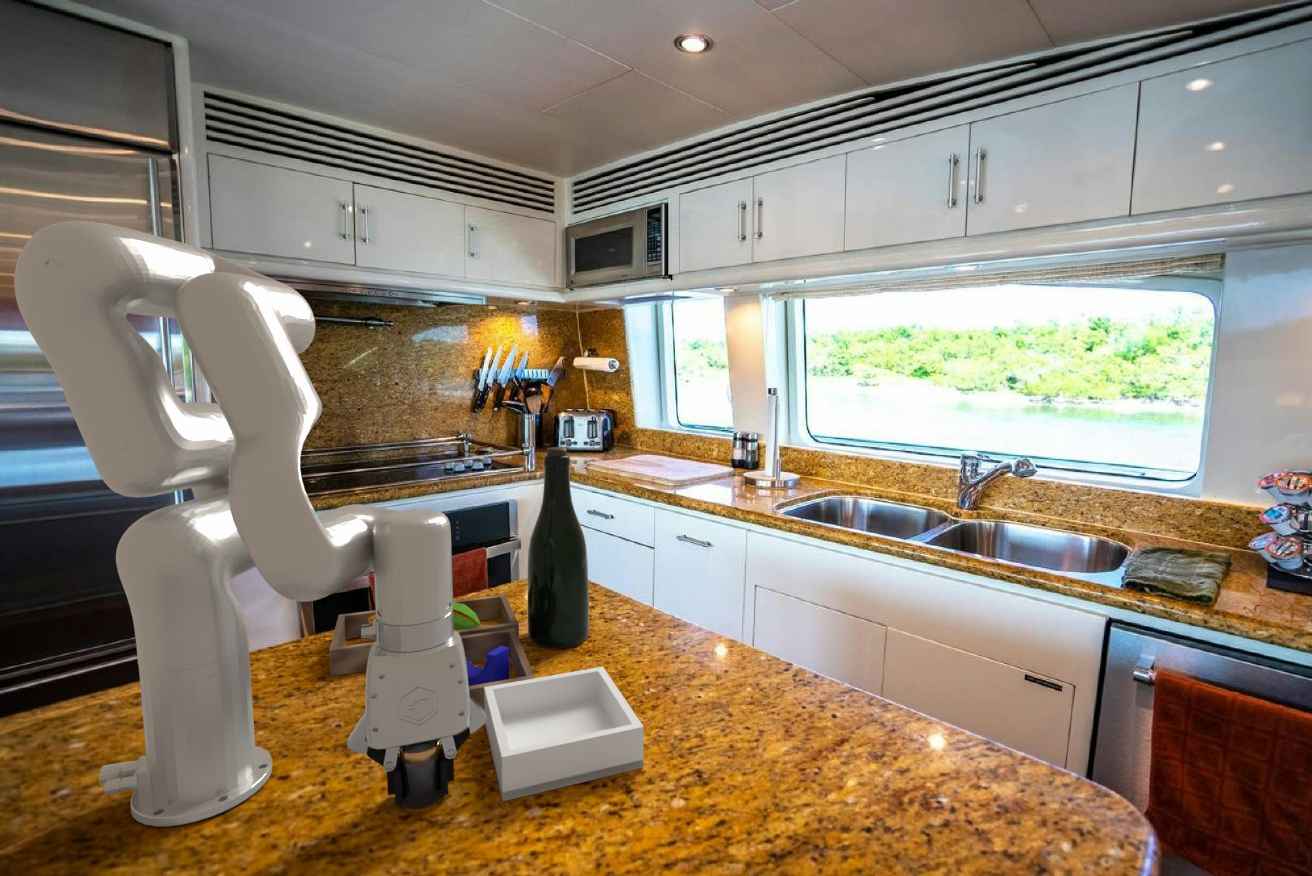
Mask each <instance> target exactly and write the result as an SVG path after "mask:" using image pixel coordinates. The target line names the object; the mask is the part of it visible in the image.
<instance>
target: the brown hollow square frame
mask: <svg viewBox="0 0 1312 876" xmlns="http://www.w3.org/2000/svg"><path fill="white" fill-rule="evenodd" d="M460 637H461V639H462V643H463V647H464V652H465V656H466V657H467V659H468V660H469V661H470V662H471V663H472V662H477V661H484V660H486V653H488V652H490V651H492V650H494V649H496V648H498V647H500V646H504V647H508V648H509V660H510V662H511V664H512V667H513V670H514V672H515V675H516V677H514V678H510V679H508V680H502V681H496V682H490V683H484V684H478V685H472V686H469V693H470V695H471V696H472V697H473V698H474V699H475V701H476V702H477V703H478V704H479V705H480V707H481V708H482V709H483V710H484V711H485V704H484V687H488V686H494V685H500V684H505V683H511V682H517V681H523V680H529V679H534V678H536V676H535V674H534V672H533V669H532V666H531V665H530V663H529V660H528V658H527V655H526V653H525V651H524V649H523V646H522V643H521V642H520V638H519V639H518V636H517V634H516V632H515V629H507V630H500V631H493V632H486V633H479V634H472V635H465V636H460Z"/></svg>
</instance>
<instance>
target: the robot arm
mask: <svg viewBox="0 0 1312 876" xmlns="http://www.w3.org/2000/svg"><path fill="white" fill-rule="evenodd" d="M13 286H14V294H15V300H16V303H17V307H18V309H19V312H20V314H21V317H22V319H23V321H24V324H25V325H26V328H27V329H28V332H29V333H30V335H31V336H32V338H33V339H34V342H36V345H37V346H38V347H39V350H40V351H41V352H42V354H43V356H44V357H45V359H46V360H47V362H48V363H49V365H50V367H51V368H52V370H53V373H54V374H55V376H56V378H57V380H58V382H59V384H60V386H61V389H62V391H63V393H64V396H65V399H66V403H67V404H68V407H69V409H70V410H71V414H72V415H73V418H74V420H75V422H76V425H77V428H78V430H79V432H80V435H81V437H82V439H83V441H84V444H85V446H86V449H87V451H88V452H89V455H90V458H91V460H92V462H93V464H94V466H95V469H96V471H97V473H98V474H99V477H101V479H102V480H103V482H104V484H106V486H107V487H108V488H109V489H110V490H111V491H113V492H114V493H116V494H119V495H121V496H124V497H129V498H148V497H154V496H159V495H160V496H161V495H166V494H171V493H175V492H179V491H183V490H187V489H191V491H192V494H193V495H194V497H195V498H193V499H190V500H187V501H186V500H185V501H182V502H179V503H175V504H171V505H169V506H165V507H162V508H158V509H155V510H154V511H151V512H149V513H147V514H145V515H144V516H142V517H140V518H139V519H137V520H136V521H135V522H133V523H132V524H131V525H130V526H129V527H128V528H127V529H126V531H124V533H123V534H122V536H121V537H120V540H119V542H118V543H117V546H116V553H115V565H116V568H117V573H118V576H119V580H120V581H121V585H122V587H123V590H124V592H125V595H126V598H127V602H128V605H129V609H130V613H131V616H132V621H133V622H132V623H133V629H134V635H135V636H134V637H135V644H136V653H137V654H136V656H137V664H138V673H139V684H140V696H141V707H142V718H143V719H142V721H143V731H144V743H145V753H146V754H145V755H141V756H139V757H138V758H137V760H132V761H127V762H126V761H122V762H116V763H111V764H106V765H103V766H102V767H101V769H100V771H99V775H98V781H99V783H98V784H99V785H100V786H104V787H103V794H104V795H106V796H107V795H112V794H116V793H122V792H124V791H128V790H132V791H133V793H132V796H131V798H130V813H131V815H132V817H133V819H135V821H137V822H138V823H141V824H142V825H145V826H152V827H173V826H175V827H176V826H182V825H186V824H191V823H196V822H198V821H199V822H200V821H202V820H206V819H209V818H212V817H214V816H217V815H218V814H221V813H224V812H225V811H228V810H230V809H232V808H234V807H236V806H238V805H239V804H241V803H243V802H244V801H246V800H247V799H249V798H250V797H251V796H253V795H254V794H256V793H257V791H259V790H260V789H261V788H262V787H263V786H264V785H265V784H266V782H267V781H268V780H269V778H271V774H272V771H273V757H272V755H271V753H270V752H269V751H268V750H266V749H265V748H264V747H260V746H258V745H256V741H255V739H256V738H255V725H254V724H255V723H254V710H253V709H254V708H253V693H252V680H251V677H252V676H251V662H250V660H251V659H250V648H249V647H250V646H249V645H250V644H249V638H248V637H249V635H248V626H247V625H248V623H247V619H246V615H245V612H244V610H243V608H242V605H241V604H240V602H239V601H238V600H237V598H236V597H235V594H234V593H233V592H232V589H231V587H230V580H232V579H234V578H236V577H237V576H239V575H241V574H242V575H243V573H246V572H248V571H250V570H253V569H255V568H256V570H257V571H258V572H259V573H260V576H261V577H262V578H263V580H264V581H265V583H267V584H268V586H269V587H270V588H271V589H273V590H274V591H275V592H276V593H277V594H279V595H280V596H282V597H284V598H286V599H288V600H291V601H293V602H294V601H295V602H299V603H300V602H301V603H306V602H314V601H317V600H321V599H323V598H326V597H328V596H329V595H332V594H333V593H336V591H338V590H340V589H342V588H343V587H345V586H346V585H348V584H349V583H351V582H352V581H354V580H357V579H359V578H360V577H361V578H362V577H363V576H367V575H369V574H370V573H374V575H373V576H374V594H375V595H374V597H375V598H374V600H375V602H374V603H375V610H376V619H374V620H373V622H369V624H365V625H361V637H360V638H361V639H365V638H367V639H368V638H369V639H373V642H375V643H373V645H372V646H371V649H370V652H369V657H368V663H367V671H365V672H366V673H365V694H364V697H365V698H364V699H365V701H364V703H365V704H364V705H365V707H364V712H363V714H362V715H361V717H360V719H359V720H358V722H357V723H356V724H355V726H354V728H353V729H352V731H351V733H350V734H349V736H348V738H347V743H346V744H347V745H346V746H347V747H346V748H347V749H348V750H351V751H352V752H356V753H359V754H362V755H366V756H367V757H368V758H370V759H371V760H373V761H374V762H376V763H377V764H379V765H380V766H382V768H383V770H384V771H385V772H386V781H387V783H386V786H387V788H386V789H387V796H392V795H394V805H395V806H394V807H400V806H401V804H402V805H403V797H402V771H401V763H400V752H399V747H400V746H406V745H411V744H416V743H421V742H426V741H431V740H436V739H440V742H441V743H440V746H441V750H440V780H441V796H447V795H449V782H454V781H455V761H454V760H455V757H456V756H457V751H458V750H460V748H461V747H462V746H463V745H464V744H465V742H467V740H468V739H469V738H470V737H471V734H473V733H475V732H476V731H478V730H479V729H480V728H482V726H483V725H485V723H486V721H487V717H486V713H485V711H484V710H483V709H482V708H481V707H480V705H479V704H478V703H477V702H476V701H475V699H474V698H473V697H472V696H471V695H470V693H469V685H468V673H467V664H466V657H465V652H464V647H463V643H462V639H461V637H460V635H459V633H458V632H457V631H455V630H454V622H453V601H454V596H453V595H454V593H453V561H452V560H453V558H452V531H451V522H450V519H449V518H448V516H446V514H444V513H443V512H442V511H439V510H435V509H427V508H426V509H425V508H414V509H413V508H412V509H411V508H410V509H402V510H396V509H390V508H384V507H381V506H374V505H368V504H361V503H359V504H358V503H356V504H355V503H354V504H348V505H343V506H339V507H338V508H335V509H332V510H330V511H326V512H323V513H320V514H319V515H318V514H317V513H316V510H315V509H314V507H313V504H312V502H311V500H310V498H309V496H308V494H307V492H306V489H305V485H304V482H303V478H302V471H301V455H302V450H303V447H304V443H305V441H306V438H307V436H308V435H309V433H310V431H311V430H312V428H313V427H314V425H315V424H316V423H317V421H318V419H320V416H321V415H322V412H323V411H322V410H323V404H322V401H321V399H320V396H319V394H318V392H317V391H316V388H315V387H314V385H313V383H312V381H311V378H310V377H309V375H308V373H307V371H306V368H305V367H304V365H303V363H302V361H301V358H300V357H299V355H300V354H301V353H303V352H304V351H306V350H307V349H308V348H309V347H310V345H311V343H312V342H313V340H314V338H315V333H316V319H315V316H314V313H313V310H312V308H311V306H310V304H309V302H308V301H307V300H306V299H305V298H304V296H303V295H301V294H300V293H299V292H298V291H297V290H295V289H294V288H293V287H291V286H289V285H287V284H286V283H283V282H280V281H278V280H276V279H274V278H272V277H271V278H270V277H268V276H266V275H264V274H261V273H259V272H257V271H255V270H252V269H250V268H248V267H245V266H243V265H242V264H239V263H236V262H235V261H233V260H230V259H228V258H226V257H223V256H221V255H219V254H217V253H214V252H212V251H209V250H207V249H205V248H202V247H199V246H197V245H196V246H195V245H193V244H189V243H186V242H182V241H179V240H178V241H177V240H173V239H170V238H165V237H162V236H158V235H154V234H151V233H147V232H143V231H140V230H135V229H132V228H128V227H124V226H119V225H115V224H109V223H104V222H98V221H89V220H68V221H60V222H54V223H52V224H50V225H46V226H44V227H43V228H41V229H40V230H38V231H37V232H35V233H34V234H33V235H32V236H31V237H30V238H29V239H28V240H27V241H26V243H25V245H24V246H23V248H22V249H21V251H20V253H19V256H18V258H17V261H16V267H15V271H14V285H13ZM128 314H130V315H131V314H132V315H138V316H146V317H157V318H167V319H175V321H176V323H177V324H176V325H177V326H178V328H179V331H180V333H181V335H182V337H183V339H184V340H185V342H186V344H187V346H188V348H189V350H190V351H189V352H190V353H191V354H192V356H193V358H194V360H195V362H196V365H197V367H198V368H199V370H200V372H201V374H202V377H203V378H204V381H205V382H206V384H207V386H208V388H209V390H210V391H211V393H212V396H213V398H214V400H215V402H207V401H203V402H202V401H199V402H198V401H197V402H196V401H195V402H194V401H193V402H183V401H182V400H181V398H180V397H179V396H178V393H177V391H176V389H175V388H174V386H173V384H172V382H171V380H170V376H169V374H168V371H167V369H166V368H167V367H166V366H165V364H164V362H163V360H162V358H161V356H160V355H159V354H158V352H157V351H156V350H155V349H154V347H153V346H152V345H151V344H150V343H149V342H148V340H147V339H145V337H144V336H143V335H142V334H141V333H139V332H138V331H137V330H136V329H135V328H134V327H133V326H132V325H131V324H130V323H129V321H128V320H127V315H128Z"/></svg>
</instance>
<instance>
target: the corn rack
mask: <svg viewBox="0 0 1312 876" xmlns="http://www.w3.org/2000/svg"><path fill="white" fill-rule="evenodd" d="M453 602H454V603H459V604H464V605H466V606H467V607H468V608H470V609H471V610H472V611H473V612H475V613H476V615H477V617H478V619H479V621H480V622H481V621H487V620H494V619H501V621H502V623H501V624H493V625H485V626H480V627H478V628H471V629H463V630H456V631H457V632H458V633H459V635H460V636H465V635H472V634H479V633H486V632H493V631H500V630H507V629H515V632H516V634H517V636H518V639H519V640H520V628H519V627H520V625H519V622H518V619H517V618H516V616H515V613H514V611H513V608H512V606H511V603H510V602H509V600H508V597H507V596H506V594H499V595H498V594H497V595H490V596H482V597H475V598H467V599H466V598H465V599H458V600H456V599H455V600H453ZM375 614H376V609H374V610H368V611H359V612H350V613H343V614H338V616H337V620H336V625H335V628H334V632H333V636H332V640H331V642H330V646H329V650H328V651H329V668H330V669H329V670H330V673H329V674H330V677H335V676H341V675H347V674H354V673H361V672H366V671H367V663H368V657H369V652H370V649H371V646H372V645H373V643H375V642H376V641H371V642H370V641H369V642H365V643H363V642H362V643H357V644H355V643H354V644H350V645H349V644H348V645H346V640H347V639H355V638H361V625H365V624H369V623H368V618H370V617H372V616H373V615H375Z"/></svg>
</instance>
